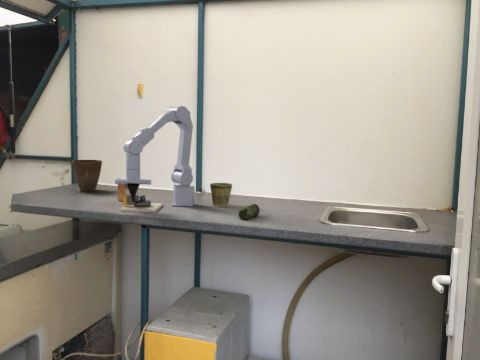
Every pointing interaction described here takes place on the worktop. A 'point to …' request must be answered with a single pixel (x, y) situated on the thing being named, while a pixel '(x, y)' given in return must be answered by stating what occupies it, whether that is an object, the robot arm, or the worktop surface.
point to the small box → (123, 190)
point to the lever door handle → (136, 201)
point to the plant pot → (87, 173)
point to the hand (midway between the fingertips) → (133, 201)
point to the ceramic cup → (220, 193)
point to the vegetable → (248, 211)
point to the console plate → (142, 208)
